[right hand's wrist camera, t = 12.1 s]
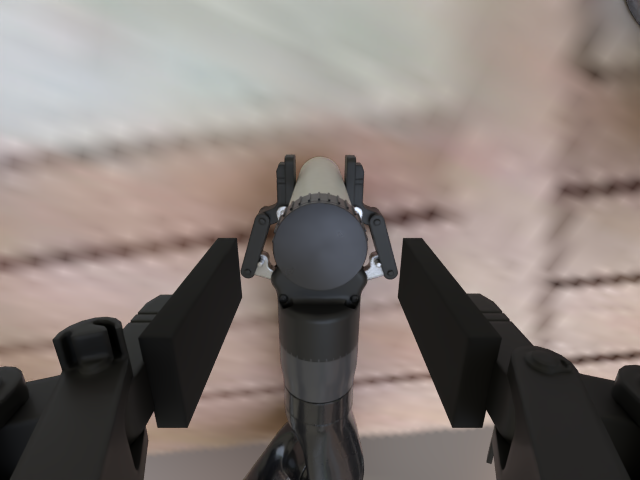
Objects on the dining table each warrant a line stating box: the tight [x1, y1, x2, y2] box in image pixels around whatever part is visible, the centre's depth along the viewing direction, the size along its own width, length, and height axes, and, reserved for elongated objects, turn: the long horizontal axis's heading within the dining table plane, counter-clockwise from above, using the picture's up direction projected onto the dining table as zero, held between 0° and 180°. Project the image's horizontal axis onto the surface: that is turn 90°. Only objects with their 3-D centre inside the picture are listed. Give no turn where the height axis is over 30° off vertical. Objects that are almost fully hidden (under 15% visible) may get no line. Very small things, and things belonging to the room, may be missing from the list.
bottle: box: [289, 157, 352, 206], centre depth 25 cm, size 4×4×18 cm
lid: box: [272, 192, 368, 291], centre depth 17 cm, size 5×5×2 cm
